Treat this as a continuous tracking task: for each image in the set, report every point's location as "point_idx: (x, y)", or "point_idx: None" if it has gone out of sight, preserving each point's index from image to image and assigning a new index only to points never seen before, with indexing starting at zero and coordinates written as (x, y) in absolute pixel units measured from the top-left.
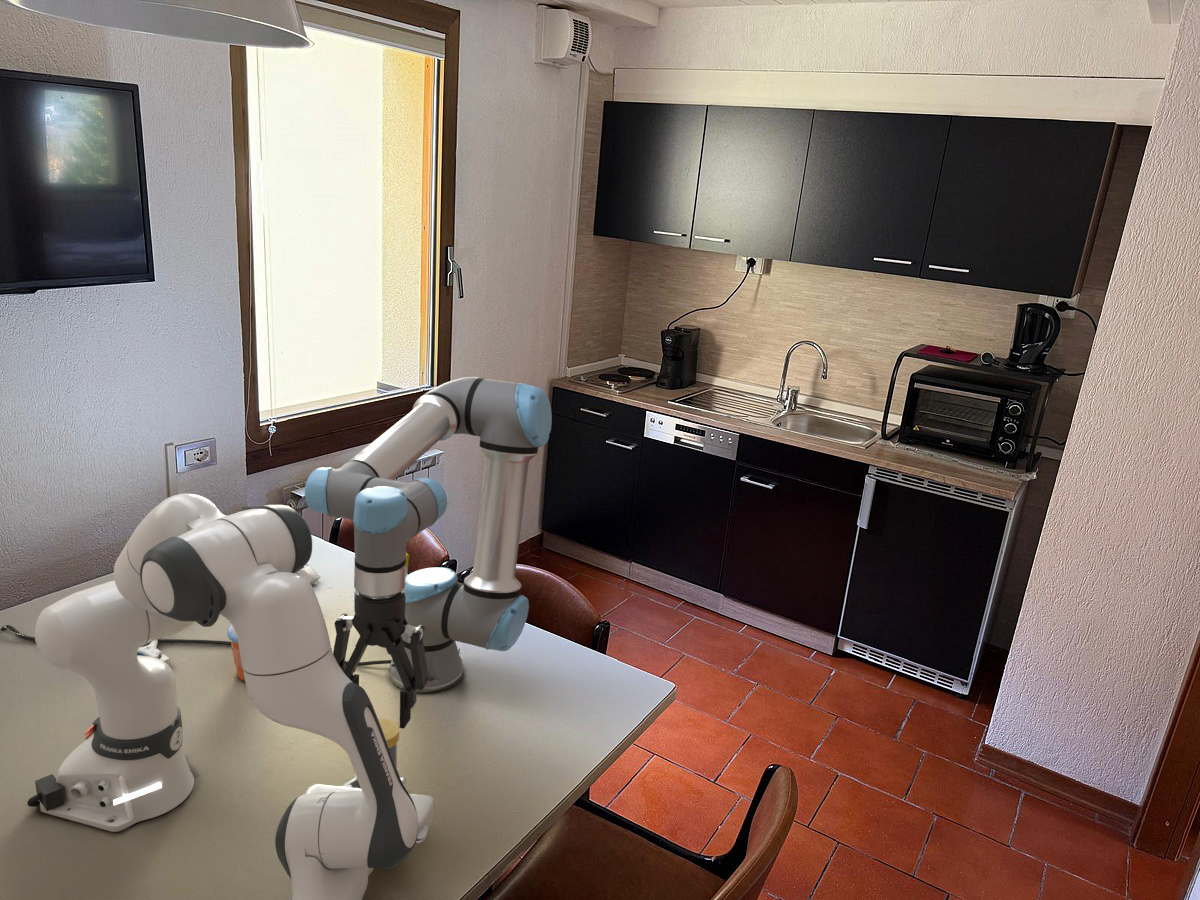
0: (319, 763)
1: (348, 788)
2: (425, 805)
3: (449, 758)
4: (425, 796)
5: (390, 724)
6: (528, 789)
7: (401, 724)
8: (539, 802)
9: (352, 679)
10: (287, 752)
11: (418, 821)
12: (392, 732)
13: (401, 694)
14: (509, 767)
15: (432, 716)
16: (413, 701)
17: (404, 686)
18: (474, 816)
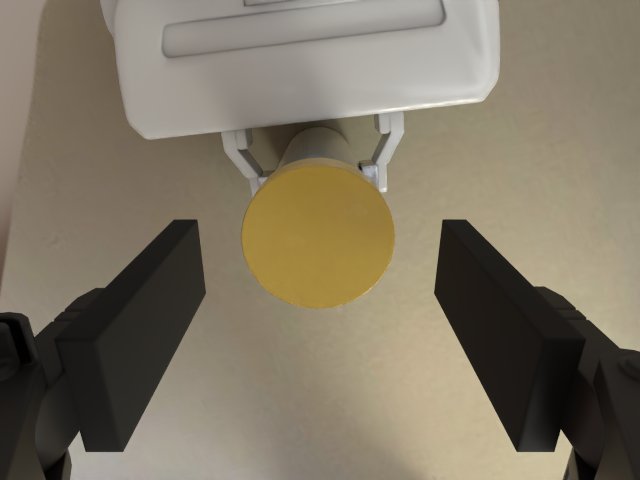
0: None
1: (380, 102)
2: (133, 89)
3: (251, 348)
4: (152, 127)
5: (293, 282)
6: (64, 306)
7: (182, 227)
8: (26, 277)
9: (552, 389)
10: (578, 290)
11: (119, 15)
12: (264, 239)
13: (95, 323)
14: None
15: (330, 442)
16: (58, 317)
17: (26, 382)
18: (129, 209)
